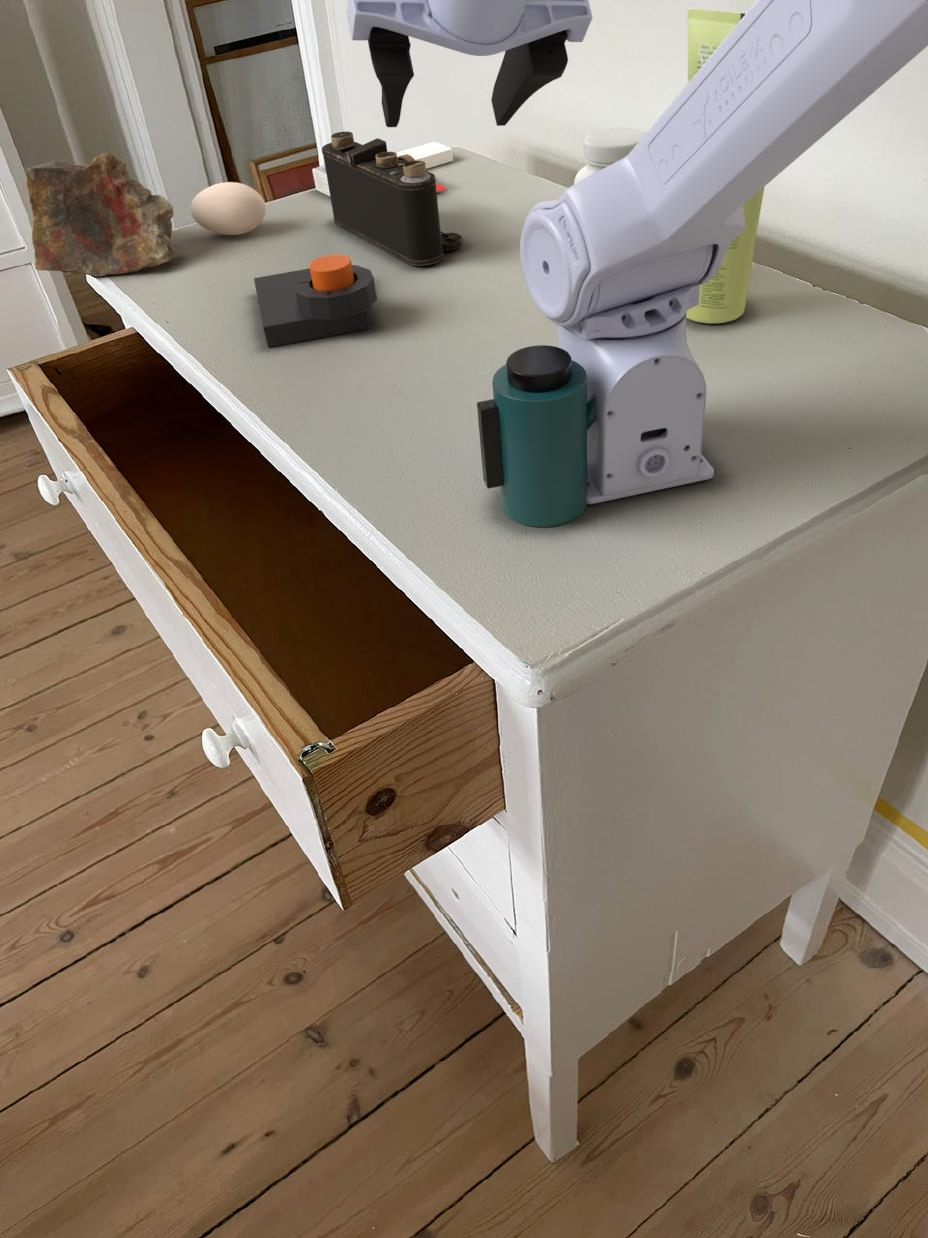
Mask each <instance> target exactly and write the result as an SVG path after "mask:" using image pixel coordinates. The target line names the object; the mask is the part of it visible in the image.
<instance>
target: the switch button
mask: <svg viewBox="0 0 928 1238" xmlns="http://www.w3.org/2000/svg"><path fill="white" fill-rule="evenodd" d="M352 265H353V264H352V259H351V257H349V256H347V255H344V254H327V255H322V256H319V257H317V258H315V259H313V260H312V261H311V262H310V263H309V267H308V268H310V273H311V278H312V283H313V288H314V289H315V290H319V291H333V290H338V289H343V288H346V287H348V286H350V285H352V284H354V275H353V269H352Z"/></svg>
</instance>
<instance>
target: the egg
mask: <svg viewBox="0 0 928 1238" xmlns="http://www.w3.org/2000/svg"><path fill="white" fill-rule="evenodd" d="M266 213H267V205H266V202H265V200H264V198H263V197H262V195H261V193H259V192H258V191H256V190H255V189H254V188H252V187H251V186H249V185H247V184H245V183H240V182H234V181H227V182H219V183H216V184H212V185H210V186H208V187H206V188H204V189H202V190H201V191H200V192H198V193H197V194H196V195H195V196H194V197H193V199H192V202H191V203H190V214H191V216H192V218H193V219H194V221H195V222H196V223H197V224H198V225H199V226H200V227H202V228H204V229H206V230H207V231H209V232H213V233H214V234H218V235H225V236H239V235H245V234H247V233H250V232H252V231H253V230H254V229H256V228H257V227H259V226H260V224H261V223H263V220H264V218H265V216H266Z"/></svg>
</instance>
